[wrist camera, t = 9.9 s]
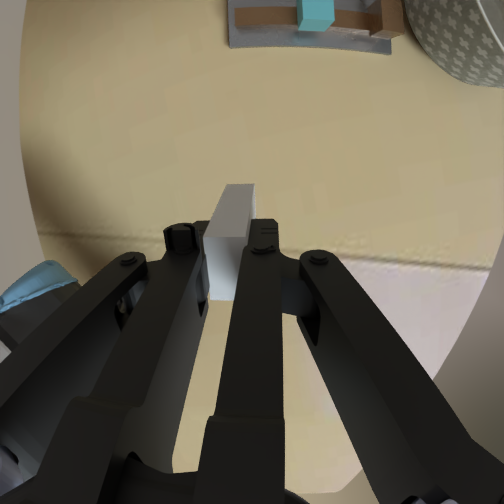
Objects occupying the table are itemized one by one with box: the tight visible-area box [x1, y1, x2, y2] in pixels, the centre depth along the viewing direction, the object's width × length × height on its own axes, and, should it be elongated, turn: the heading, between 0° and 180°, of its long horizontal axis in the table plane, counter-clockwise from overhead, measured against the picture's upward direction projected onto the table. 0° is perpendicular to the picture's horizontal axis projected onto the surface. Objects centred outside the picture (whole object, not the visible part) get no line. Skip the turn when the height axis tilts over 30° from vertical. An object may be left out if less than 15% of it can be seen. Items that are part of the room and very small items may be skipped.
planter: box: [404, 0, 504, 88], centre depth 19 cm, size 19×19×18 cm
